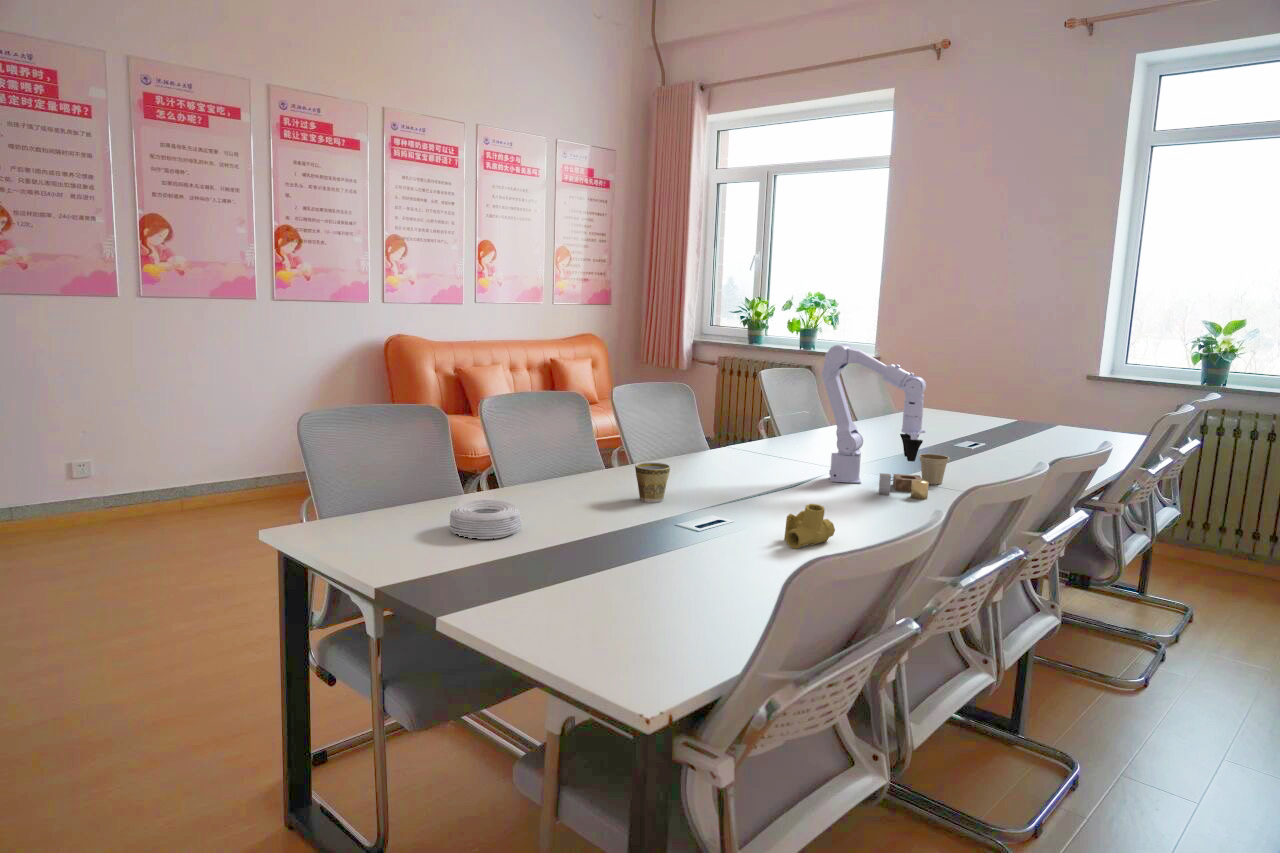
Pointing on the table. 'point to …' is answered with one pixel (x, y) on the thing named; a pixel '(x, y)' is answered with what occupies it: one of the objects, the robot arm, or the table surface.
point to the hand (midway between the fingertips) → (909, 458)
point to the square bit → (884, 484)
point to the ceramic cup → (652, 480)
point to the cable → (485, 519)
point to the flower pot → (933, 467)
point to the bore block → (904, 481)
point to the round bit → (919, 489)
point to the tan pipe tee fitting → (808, 527)
